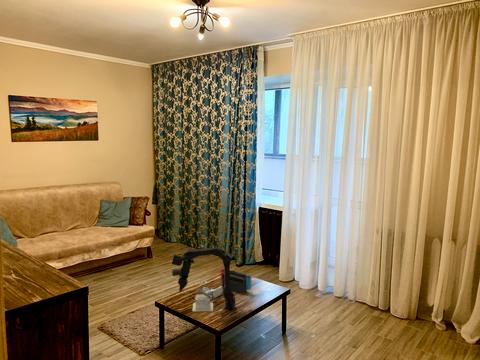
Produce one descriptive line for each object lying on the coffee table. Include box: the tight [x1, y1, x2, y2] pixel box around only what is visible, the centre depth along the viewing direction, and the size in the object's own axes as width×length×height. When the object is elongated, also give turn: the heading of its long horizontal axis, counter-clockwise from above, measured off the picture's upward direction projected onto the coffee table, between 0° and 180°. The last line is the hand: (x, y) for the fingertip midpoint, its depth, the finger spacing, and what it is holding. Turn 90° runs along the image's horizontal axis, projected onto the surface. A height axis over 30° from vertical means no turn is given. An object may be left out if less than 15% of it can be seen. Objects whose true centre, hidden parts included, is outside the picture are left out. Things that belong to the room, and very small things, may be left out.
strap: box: [196, 288, 211, 299], centre depth 249 cm, size 10×3×1 cm, turn 95°
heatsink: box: [194, 294, 211, 309], centre depth 249 cm, size 11×8×7 cm
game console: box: [220, 267, 252, 295], centre depth 278 cm, size 28×6×15 cm, turn 57°
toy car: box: [198, 280, 223, 301], centre depth 271 cm, size 18×10×12 cm
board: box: [192, 302, 214, 313], centre depth 250 cm, size 14×11×1 cm
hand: (180, 288), depth 244 cm, fingers open, 9 cm apart
